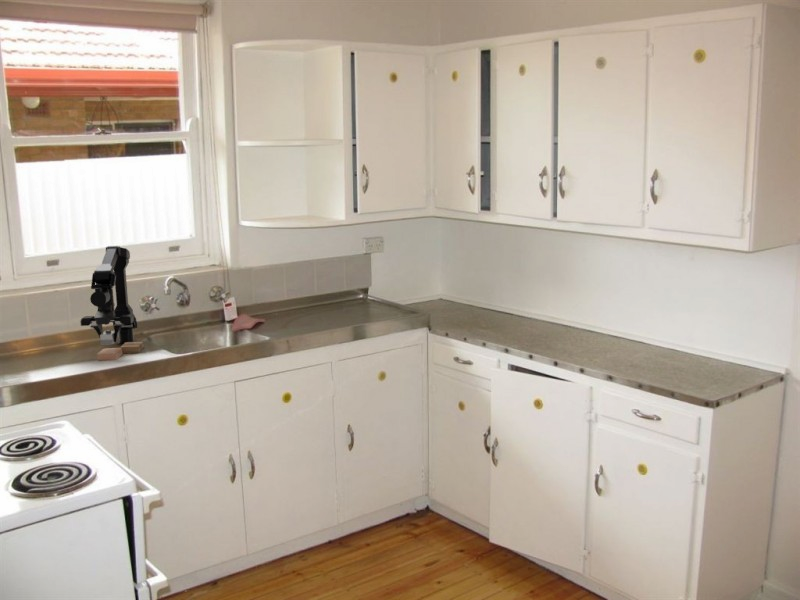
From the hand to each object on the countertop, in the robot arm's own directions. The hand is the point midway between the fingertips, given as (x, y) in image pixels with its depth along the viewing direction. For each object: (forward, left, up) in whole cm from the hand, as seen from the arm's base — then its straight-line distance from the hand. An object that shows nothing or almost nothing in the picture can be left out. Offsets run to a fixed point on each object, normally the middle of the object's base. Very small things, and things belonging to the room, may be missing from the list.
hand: (109, 342), depth 324 cm
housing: (0, 0, 0) cm, 0 cm away
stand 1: (0, 0, -6) cm, 6 cm away
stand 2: (-10, +6, -6) cm, 13 cm away
